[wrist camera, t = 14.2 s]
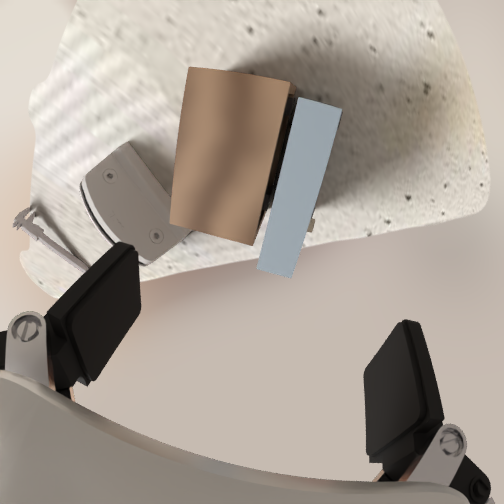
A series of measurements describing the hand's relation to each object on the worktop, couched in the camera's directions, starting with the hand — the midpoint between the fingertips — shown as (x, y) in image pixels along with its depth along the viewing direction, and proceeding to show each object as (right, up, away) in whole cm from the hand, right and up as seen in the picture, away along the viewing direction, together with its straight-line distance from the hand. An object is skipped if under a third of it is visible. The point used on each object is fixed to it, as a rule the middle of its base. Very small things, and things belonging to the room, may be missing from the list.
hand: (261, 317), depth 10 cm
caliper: (-39, +5, +39) cm, 55 cm away
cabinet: (+1, +15, +24) cm, 28 cm away
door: (+6, +14, +24) cm, 28 cm away
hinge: (-16, +10, +31) cm, 36 cm away
